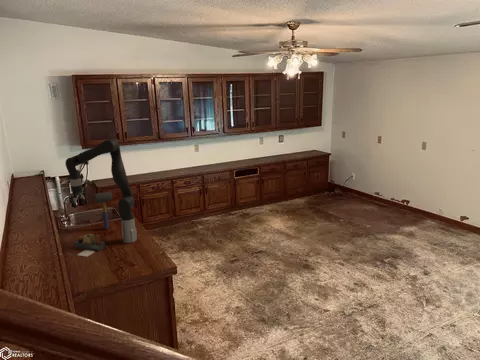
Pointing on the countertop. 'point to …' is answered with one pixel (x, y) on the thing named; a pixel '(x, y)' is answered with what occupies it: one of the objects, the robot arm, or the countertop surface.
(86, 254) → the felt mat
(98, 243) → the plane body
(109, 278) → the countertop surface
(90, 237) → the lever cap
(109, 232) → the countertop surface
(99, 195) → the rubber mallet
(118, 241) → the countertop surface
